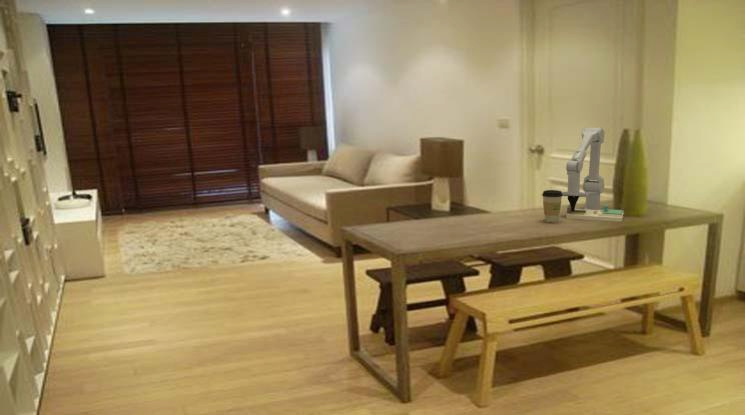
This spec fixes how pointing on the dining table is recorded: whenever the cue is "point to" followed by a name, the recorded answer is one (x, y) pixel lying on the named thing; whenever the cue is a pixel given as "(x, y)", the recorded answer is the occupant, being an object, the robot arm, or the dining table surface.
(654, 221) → the dining table surface
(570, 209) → the t key
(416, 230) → the dining table surface
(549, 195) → the coffee cup
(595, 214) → the board
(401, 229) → the dining table surface
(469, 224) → the dining table surface
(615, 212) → the cover
